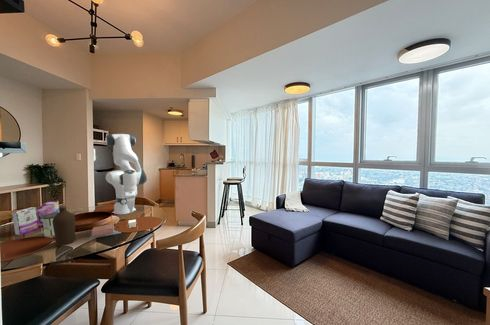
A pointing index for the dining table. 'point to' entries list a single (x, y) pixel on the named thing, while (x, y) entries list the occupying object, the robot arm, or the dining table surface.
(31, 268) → the dining table surface
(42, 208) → the gum box
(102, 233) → the pink block
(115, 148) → the robot arm
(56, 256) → the dining table surface
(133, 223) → the stub
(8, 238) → the dining table surface
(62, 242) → the olive oil
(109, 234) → the mat
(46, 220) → the tissue box
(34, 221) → the candy bar box
